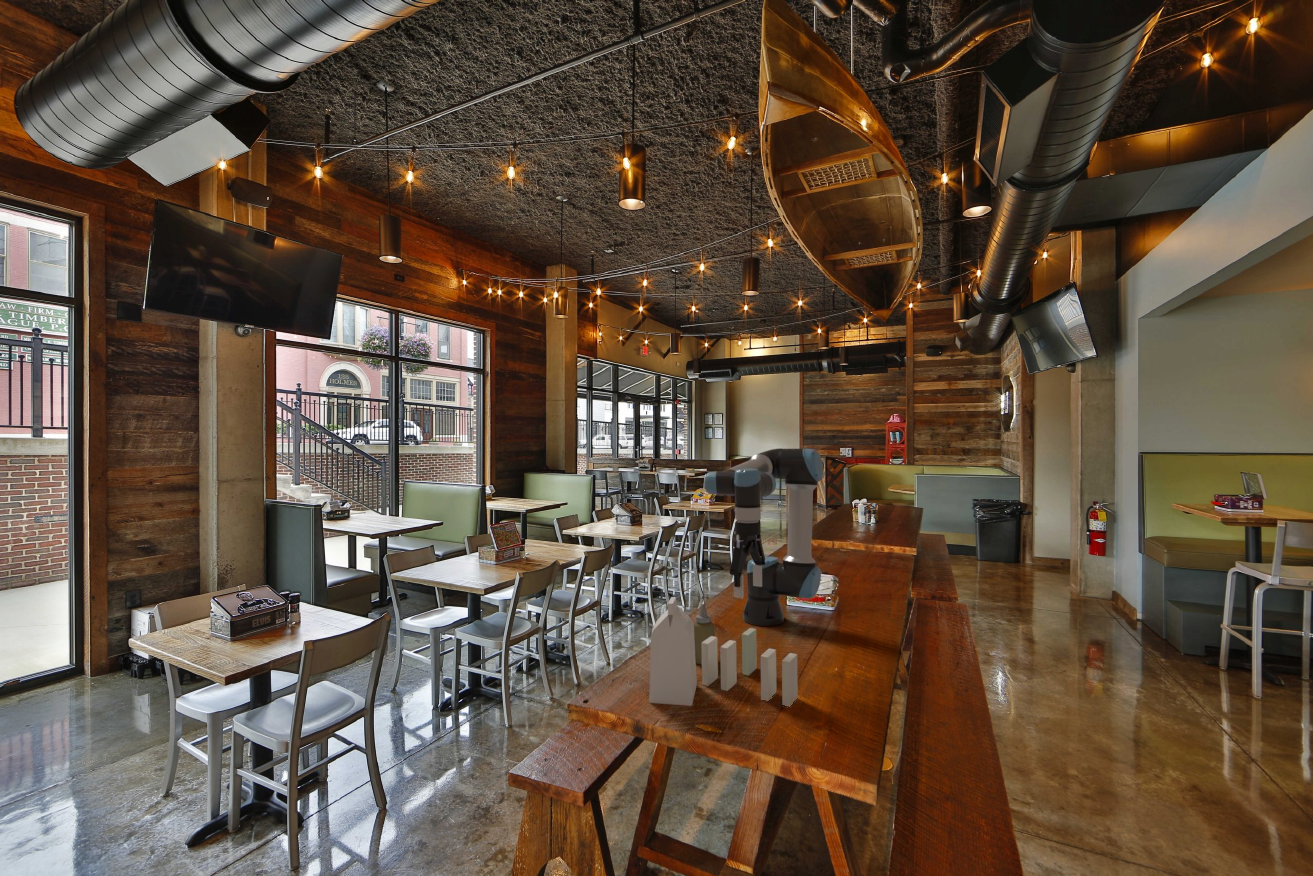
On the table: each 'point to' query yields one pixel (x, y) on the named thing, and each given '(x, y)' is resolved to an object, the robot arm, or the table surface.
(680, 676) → the milk
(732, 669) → the domino
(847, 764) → the table surface
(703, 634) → the squeeze bottle
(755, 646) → the domino
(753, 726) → the table surface
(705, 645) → the domino
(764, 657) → the domino
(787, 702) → the domino
